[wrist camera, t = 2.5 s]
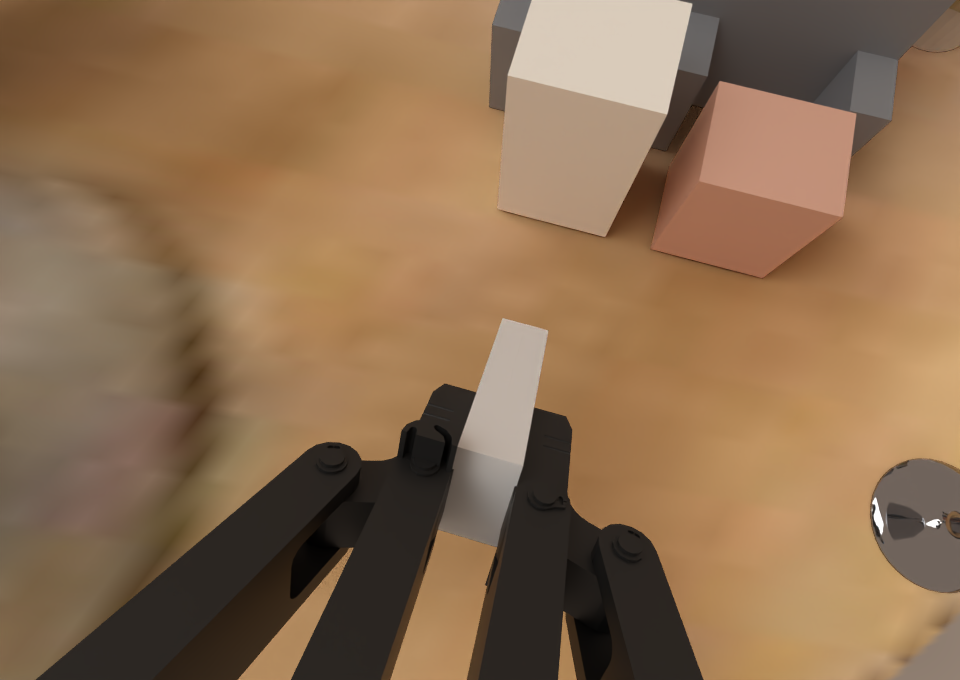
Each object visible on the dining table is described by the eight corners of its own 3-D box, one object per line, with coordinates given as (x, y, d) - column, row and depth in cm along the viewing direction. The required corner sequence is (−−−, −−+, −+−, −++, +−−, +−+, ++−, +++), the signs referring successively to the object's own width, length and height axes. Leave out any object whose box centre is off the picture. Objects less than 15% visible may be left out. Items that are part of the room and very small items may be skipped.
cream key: (497, 209, 36) (507, 75, 25) (521, 129, 38) (541, -32, 26) (605, 237, 36) (667, 114, 24) (625, 155, 37) (692, 3, 26)
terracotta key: (650, 248, 36) (699, 181, 28) (668, 166, 37) (719, 80, 30) (762, 278, 35) (842, 217, 28) (776, 193, 37) (856, 113, 29)
